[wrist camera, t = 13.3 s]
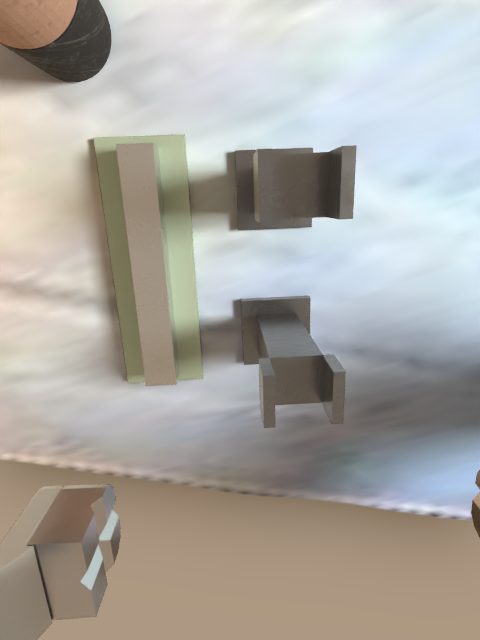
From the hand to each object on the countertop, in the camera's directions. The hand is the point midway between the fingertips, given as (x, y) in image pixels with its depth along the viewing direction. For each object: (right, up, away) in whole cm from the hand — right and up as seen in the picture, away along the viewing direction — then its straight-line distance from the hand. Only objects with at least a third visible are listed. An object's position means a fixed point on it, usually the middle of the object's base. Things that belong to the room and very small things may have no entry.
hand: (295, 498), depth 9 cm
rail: (-10, +9, +29) cm, 32 cm away
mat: (-10, +9, +30) cm, 32 cm away
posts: (+2, +10, +30) cm, 32 cm away
